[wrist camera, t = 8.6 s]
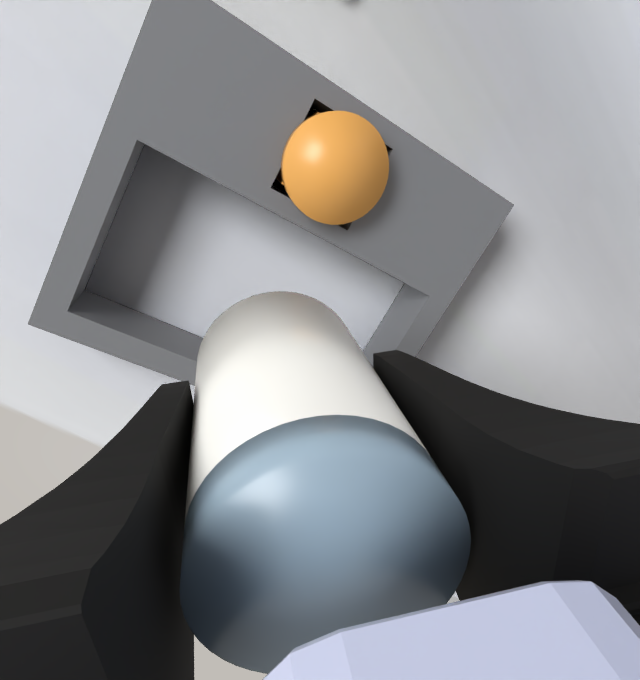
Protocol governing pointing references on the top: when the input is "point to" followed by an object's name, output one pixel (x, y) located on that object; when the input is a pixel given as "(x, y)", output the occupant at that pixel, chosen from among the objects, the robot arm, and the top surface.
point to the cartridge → (305, 489)
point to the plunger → (334, 167)
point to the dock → (256, 183)
